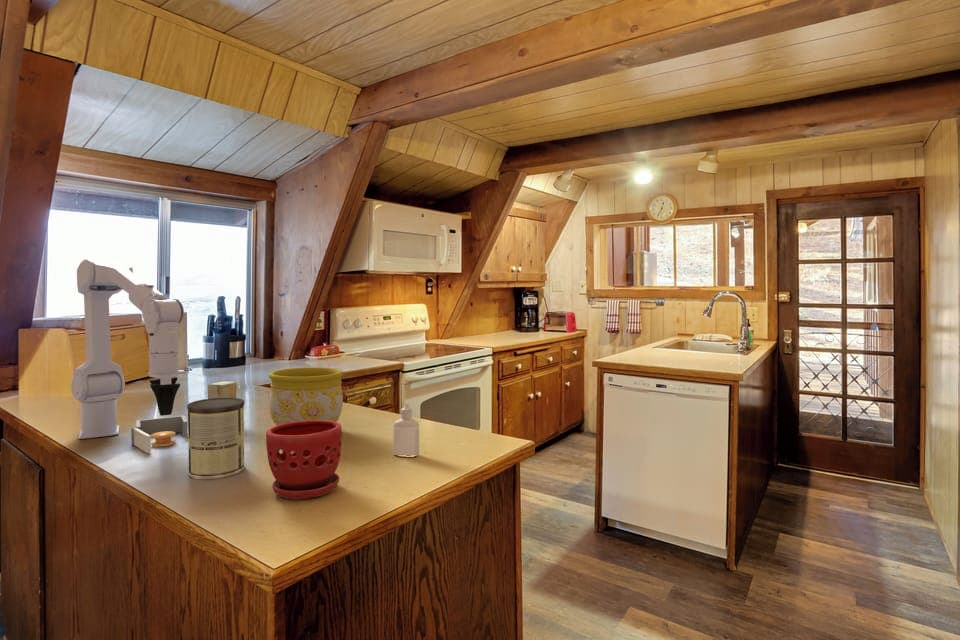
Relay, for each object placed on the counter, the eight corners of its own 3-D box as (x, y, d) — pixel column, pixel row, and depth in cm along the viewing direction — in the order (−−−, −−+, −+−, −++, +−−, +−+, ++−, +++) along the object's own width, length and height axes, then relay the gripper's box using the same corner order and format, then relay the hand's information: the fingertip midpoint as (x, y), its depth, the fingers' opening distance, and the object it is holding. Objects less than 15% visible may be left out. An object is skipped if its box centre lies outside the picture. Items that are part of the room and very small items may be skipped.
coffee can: (179, 471, 104) (178, 402, 103) (230, 459, 112) (230, 395, 111) (201, 484, 97) (200, 410, 97) (254, 470, 105) (253, 401, 105)
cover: (136, 443, 123) (136, 427, 122) (152, 453, 116) (151, 435, 115) (130, 444, 122) (130, 428, 122) (146, 454, 115) (145, 436, 115)
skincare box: (221, 431, 135) (221, 385, 134) (206, 430, 136) (206, 384, 135) (237, 425, 141) (237, 381, 141) (223, 424, 142) (223, 380, 141)
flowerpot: (283, 449, 120) (283, 379, 119) (259, 433, 133) (259, 370, 133) (354, 437, 131) (355, 373, 130) (326, 423, 145) (326, 365, 144)
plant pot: (348, 478, 101) (348, 417, 101) (331, 504, 88) (331, 435, 88) (281, 477, 101) (281, 417, 100) (254, 504, 88) (254, 435, 87)
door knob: (150, 443, 124) (150, 433, 124) (174, 440, 127) (174, 430, 126) (151, 448, 120) (151, 437, 120) (176, 445, 122) (176, 434, 122)
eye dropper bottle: (407, 460, 113) (407, 406, 112) (390, 455, 116) (390, 402, 116) (421, 456, 116) (422, 403, 115) (405, 450, 120) (405, 399, 119)
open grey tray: (136, 436, 129) (136, 420, 129) (184, 430, 135) (184, 415, 135) (136, 443, 123) (136, 427, 123) (187, 437, 129) (187, 421, 128)
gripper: (186, 354, 113) (187, 415, 114) (181, 348, 125) (182, 404, 126) (148, 356, 109) (149, 419, 110) (147, 350, 121) (148, 407, 122)
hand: (164, 411), depth 117 cm, fingers open, 7 cm apart
